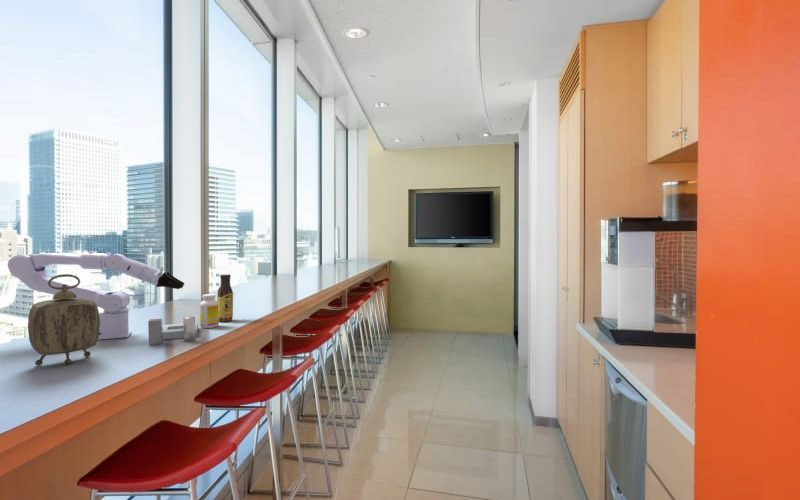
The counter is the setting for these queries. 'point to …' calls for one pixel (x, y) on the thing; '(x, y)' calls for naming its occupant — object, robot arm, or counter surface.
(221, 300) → the sauce bottle
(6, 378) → the counter surface
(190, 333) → the round bit
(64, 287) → the tabletop clock
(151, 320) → the square bit
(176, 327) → the bore block
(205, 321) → the supplement bottle
